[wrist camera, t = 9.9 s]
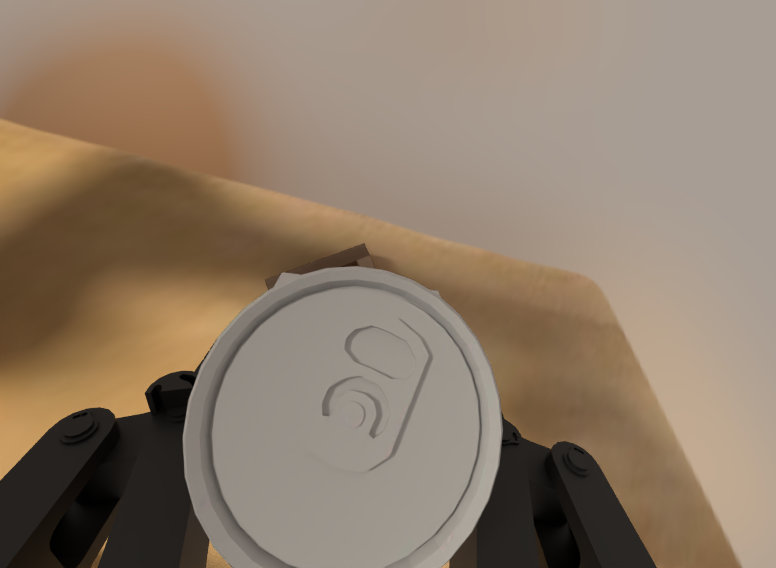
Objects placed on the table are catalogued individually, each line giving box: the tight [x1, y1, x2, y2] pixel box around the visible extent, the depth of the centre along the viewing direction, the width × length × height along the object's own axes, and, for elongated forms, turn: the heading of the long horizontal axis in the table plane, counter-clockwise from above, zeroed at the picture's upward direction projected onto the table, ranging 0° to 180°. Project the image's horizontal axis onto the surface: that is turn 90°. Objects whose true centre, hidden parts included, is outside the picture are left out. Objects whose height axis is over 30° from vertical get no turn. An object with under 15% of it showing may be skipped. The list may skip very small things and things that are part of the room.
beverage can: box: [183, 266, 503, 568], centre depth 12 cm, size 6×6×15 cm
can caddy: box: [265, 244, 376, 290], centre depth 34 cm, size 11×11×3 cm
